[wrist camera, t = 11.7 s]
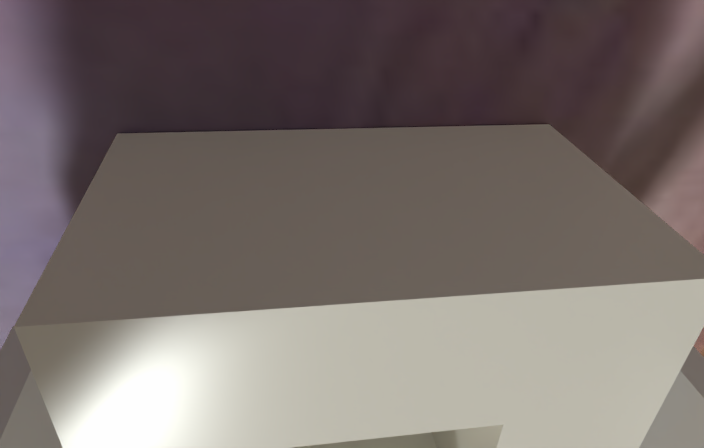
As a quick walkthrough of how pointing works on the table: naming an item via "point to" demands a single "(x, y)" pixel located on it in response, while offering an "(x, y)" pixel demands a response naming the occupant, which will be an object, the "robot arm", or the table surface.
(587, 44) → the table surface
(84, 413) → the collar
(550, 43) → the table surface
